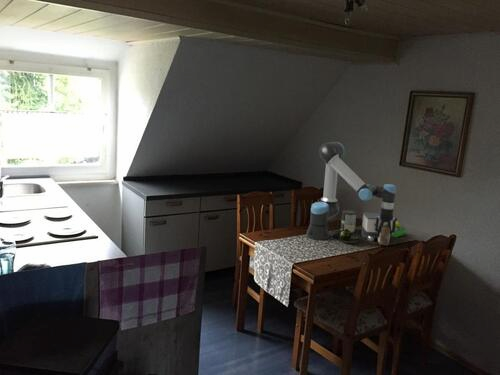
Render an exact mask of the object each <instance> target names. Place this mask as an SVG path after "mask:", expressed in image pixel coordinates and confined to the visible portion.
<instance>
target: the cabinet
mask: <svg viewBox="0 0 500 375" xmlns="http://www.w3.org/2000/svg"><path fill="white" fill-rule="evenodd" d="M362 214H363V215H362V223H361V224H362V226H361V234H360V235H361V237H362V238H363V239H364V238H365V239H368V235H373V236H375V239H376V237H377V232H376V231H375V224H376V216H380V214H381V212H366V211H365V212H364V211H363V212H362ZM390 222H391V230H392V225H393V219H392V220H391V221H390ZM380 223H381V218H380V219H379V223H378V228H379V225H380ZM383 225H386V226H388V222H384V224H383Z"/></svg>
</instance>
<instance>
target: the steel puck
mask: <svg viewBox="0 0 500 375" xmlns="http://www.w3.org/2000/svg"><path fill="white" fill-rule="evenodd" d="M375 240H376V238H375V236H373V235H368V238H367V241H369V242H375Z"/></svg>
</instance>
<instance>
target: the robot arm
mask: <svg viewBox="0 0 500 375" xmlns="http://www.w3.org/2000/svg"><path fill="white" fill-rule="evenodd" d="M344 155H345V147H344V145H343V144H342V143H341V142H338V141H332V142H326V143H323V144H322V145H321V146H320V147H319V157H320V158H321V160H323V162H324V163H325V171H324V172H325V173H324V184H323V185H324V186H323V196H322V197H321V198H320V201H316V202H314V203H312V204H311V205H310V206H311V208H310V220H309V226H308V228H307V230H306V237H307V238H309V239H312V240H316V241H317V240H319V241H321V240H322V241H323V240H327V239H329V238H330V235H329V231H328V220H329V219H332V218H334V217H336V216H337V215H338V213H339V211H340V207H339V204H338V199H337V198H336V196H337V184H338V177H339V176H341V177H342V178H343V180H345V182H347V184H348V185H349V186H351V188H352V189H354V192H356V193H357V194H358V197H359V199H360V200H362V201H369V200H371V199H375V198H379V199H382V200H381V201H382V202H381V208H380V213H381V214H380V216H376V224H375V231H376V232H377V237H378V239H377V243H379V242H380V239H381V232H380V231H381V229H382V226H383V224H384V222H388V227H390V233H389V239H391V238H392V235H391V234H392V233H394V232H395V225H396V221H398V217H394V207H395V201H396V200H395V199H396V193H397V187H396V185H394V184H391V183H386V184H384V185H383V186H379V185H374V184H366V183H365V182H364V181H363V180H362V179H361V178H360V177H359V175H357V174H356V173H355V172H354V171H353V170H352V169H351V168H350V167H349V165H347V164H346V163H345V161H343V159H342V157H343V156H344ZM338 175H339V176H338ZM380 218H381V223H380V225H379V228H378V223H379V219H380ZM392 219H393V225H392V230H391V222H390V221H391V220H392ZM389 243H390V240H389V241H388V244H389Z"/></svg>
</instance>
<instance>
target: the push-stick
mask: <svg viewBox="0 0 500 375" xmlns="http://www.w3.org/2000/svg"><path fill="white" fill-rule="evenodd" d="M380 232H381V239H380V242H378V244H379V245H380V246H388V245H389V243H388V241H389V242H390V238H389V233H390V227H388V226H386V225H383V226H382V229H381V231H380ZM376 238H377V240H378V237H376ZM376 238H375V239H376Z"/></svg>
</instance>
